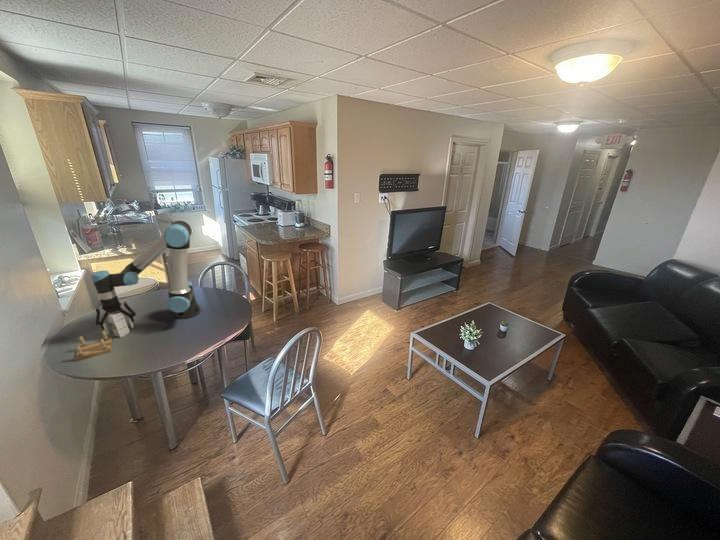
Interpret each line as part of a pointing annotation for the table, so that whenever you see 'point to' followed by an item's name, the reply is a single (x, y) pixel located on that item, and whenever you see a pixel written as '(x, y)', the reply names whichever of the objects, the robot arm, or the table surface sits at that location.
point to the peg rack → (93, 347)
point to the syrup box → (118, 324)
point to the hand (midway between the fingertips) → (120, 329)
